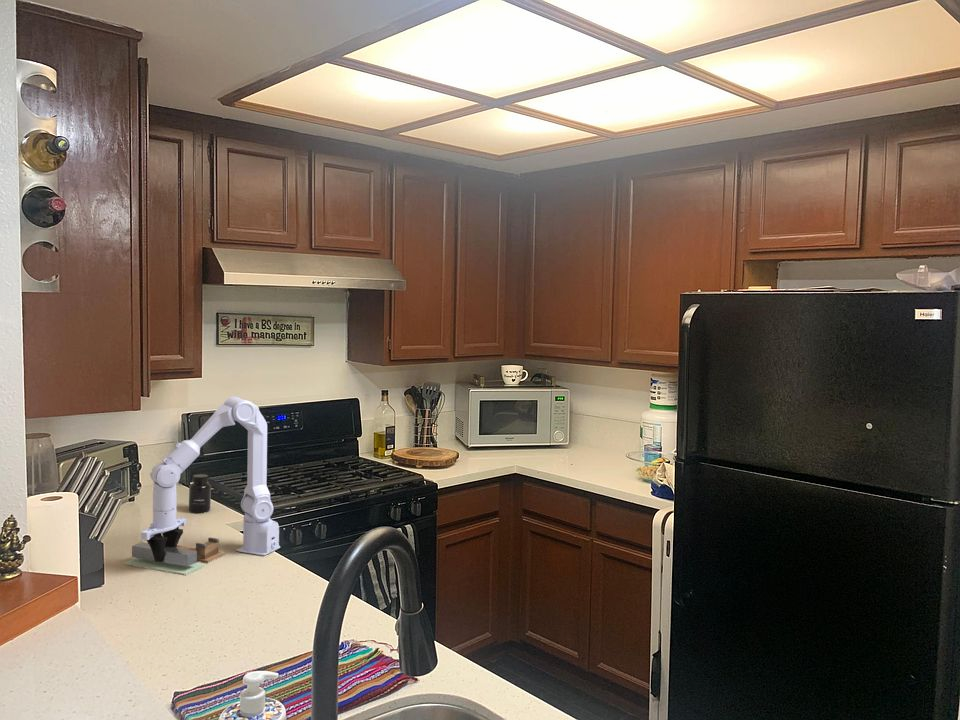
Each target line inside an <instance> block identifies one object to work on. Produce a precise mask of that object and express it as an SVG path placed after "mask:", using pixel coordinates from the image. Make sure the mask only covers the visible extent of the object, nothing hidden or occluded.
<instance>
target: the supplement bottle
mask: <svg viewBox="0 0 960 720" xmlns="http://www.w3.org/2000/svg"><path fill="white" fill-rule="evenodd" d="M188 489H189V490H188V511H189V513H191V514H204V512H206V513H208V512H210V510H211V500H212V499H211V497H212V496H211V495H212V485H211V484H210V482H209V475H208V474H204V473H203V474H202V473H201V474H193V476H192V483H190V485H189V488H188Z"/></svg>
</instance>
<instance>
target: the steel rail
mask: <svg viewBox="0 0 960 720" xmlns="http://www.w3.org/2000/svg"><path fill="white" fill-rule="evenodd" d="M131 557H132V558H141V559H147V560H153V561H155V560H154V556H153V553H152V550H151V547H150V545H149V544H148V542H144V541H141V542H138V543H135V544H133V545H131ZM163 562H164V563H170V564H175V565H181V566H187V567H188V566H190V565H192V564H194V563H195V564H197V562H198V561H197V551H193V550H187V549H181V548H175V547H169V546H165V549H164V558H163Z"/></svg>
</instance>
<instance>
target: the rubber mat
mask: <svg viewBox="0 0 960 720" xmlns="http://www.w3.org/2000/svg"><path fill="white" fill-rule="evenodd" d="M123 564H124V565H126V564H127V566H131V565H133V567H137V566H138V567H139V568H142V567H144V568H143V569H148V568H149V570H153V569H155V570H154V571H159V570H161V571H160V572H165V571H167V572H166V573H170V572H173V573H172V574H176V573H180V574H179V575H181V574H185V575H184V576H187V575H186V574H188V575H190V574H192V573H194V572H196V571H199V570H200V568H201V569H203V568H205V567H204V566H205V565H204V564H200V563H194V564H192V565H190V566H188V567H187V566H181V565H175V564H170V563H164V562H155V561H153V560H147V559H141V558H135V557H133V558H132V559H130V560H127V561H125V562H123ZM138 567H137V568H138ZM202 567H203V568H202ZM198 569H199V570H198ZM195 570H196V571H195ZM193 571H194V572H193ZM191 572H192V573H191ZM189 573H190V574H189Z"/></svg>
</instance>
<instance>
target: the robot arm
mask: <svg viewBox="0 0 960 720" xmlns="http://www.w3.org/2000/svg"><path fill="white" fill-rule="evenodd" d="M235 422H237V423H239V424H240V425H241V426H242V427H244V429H246V430H247V469H246V470H247V475H246V478H247V480H246V486H245V488H244V490H243V491H244V492H243V497H242V499H241V502H240V507H241V510H242V512H244V516H243V525H242V528H243V529H242V531H243V533H242V540H243V541H242V546H241V547H239V548H237V549H236V552H239V553H246V554H251V555H252V554H253V555H257V556H267V555H268V554H271V553H272V552H274V551H276V550H278V549H280V548H281V546H280V525H279V523H278V521H275V520H272V519H271V516H272V515H273V513H274V505H273V502H272V500H271V492H270V490H269V488H268V486H267V480H268V479H267V475H268V472H267V470H268V466H267V465H268V423H267V421H266V419H265V417H264V415H263V414H262V413H261V411H260V407H258V405H256V404H254V402H252V401H250V400H245V399H242V398H241V397H238V396H231V397H228V398H227V399H226V400H225V401H224V403H222V404H221V405H219V406H218V407H217V409H216V410H215V412H214V413H213V414H212V415H211V416H210V417H209V418H208V420H207V421H206V422H205V423H204V424H203V425H202V426H201V427H200V428H199V429H198V431H197V432H196V433H195V434H194V435H192V437H191V439H188V440H182V441H181V442H179V441H178V442H177V443H176V444H175V445H174V447H175V448H174V449H173V450H172V451H171V452H170V453H169V454H168V455H167V456H166V457H163V458H162V459H161V462H159V463H156V464H155V465H154V466H153V467H152V470H151V472H150V473H149V476H150V478H151V480H152V481H153V491H152V523H150V526H149V527H148V528H147V529H145V530H143V531H141V532H140V540H144V541H146V543H148V544H149V545H150V547H151V550H152V553H153V556H154V560H155V562H163V558H164V549H165V546H169V547H175V548H176V547H177V545H179V544H178V543H179V541H180V539H181V537H182V536H183V534H184V529H182V528H180V527H186V526H187V523H188V520H187V517H179V518H177V497H178V496H177V494H178V493H177V492H178V491H177V484H178V483H179V481H180V479H181V474H183V472H184V471H185V470H186V469H188V467H190V465H191V464H192V463H193V462H194V461H195V460H197V458H198V457H199V456H200V454H201V452H200V451H201V448H202V447H203V445H205V444H206V443H207V442H208V441H209V440H210V439H211V438H212V437H214V436H215V435H216V433H218V432H219V431H220V430H221V429H222V428H224V427H230V426H235V425H236V423H235Z"/></svg>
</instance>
